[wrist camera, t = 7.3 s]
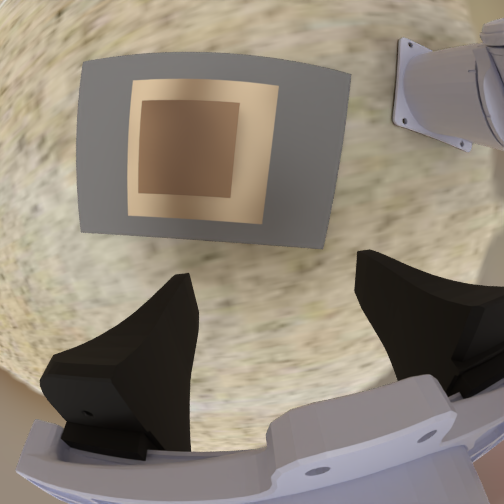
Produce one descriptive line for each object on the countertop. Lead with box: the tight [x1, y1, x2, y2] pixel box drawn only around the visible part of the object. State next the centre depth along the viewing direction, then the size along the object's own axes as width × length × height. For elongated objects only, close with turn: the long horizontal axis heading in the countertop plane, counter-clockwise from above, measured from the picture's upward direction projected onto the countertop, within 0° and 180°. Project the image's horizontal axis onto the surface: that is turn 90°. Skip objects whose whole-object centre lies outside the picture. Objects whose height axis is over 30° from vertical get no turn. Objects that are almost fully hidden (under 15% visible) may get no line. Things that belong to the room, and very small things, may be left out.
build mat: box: [76, 52, 351, 249], centre depth 19 cm, size 20×14×1 cm
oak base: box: [127, 79, 279, 224], centre depth 17 cm, size 9×9×2 cm
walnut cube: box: [138, 100, 240, 198], centre depth 14 cm, size 4×4×4 cm
